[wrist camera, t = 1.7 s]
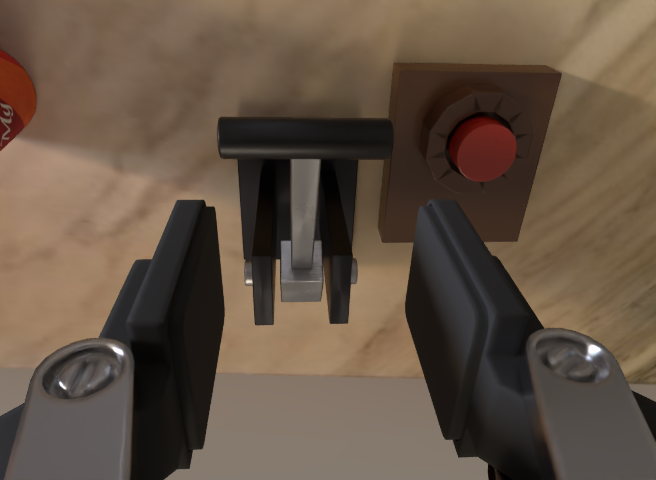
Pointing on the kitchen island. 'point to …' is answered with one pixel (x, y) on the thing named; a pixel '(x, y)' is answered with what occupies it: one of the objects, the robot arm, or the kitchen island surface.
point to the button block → (435, 134)
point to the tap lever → (304, 177)
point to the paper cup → (14, 99)
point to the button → (482, 148)
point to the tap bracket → (275, 226)
